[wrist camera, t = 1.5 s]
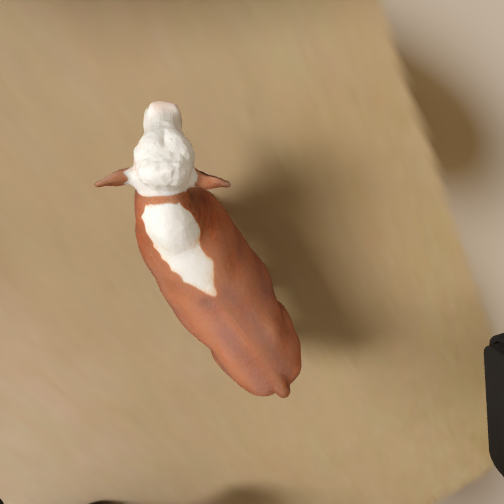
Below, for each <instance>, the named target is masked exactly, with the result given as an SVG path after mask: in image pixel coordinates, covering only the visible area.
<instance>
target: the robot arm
mask: <svg viewBox="0 0 504 504" xmlns="http://www.w3.org/2000/svg"><path fill="white" fill-rule="evenodd" d="M484 365H485V383H486V401H487V420H488V438H489V452H490V456H491V459H492V461H493V463H494V465H495V466H496V468H497V469H498V471H499V472H500V473H501V474H502V475H503V477H504V333H502V334H499V335H495V336H493V337H492V338H491V340H490V344H489V346H487V347H485V349H484ZM0 504H4V503H3V502H2V500H1V499H0Z"/></svg>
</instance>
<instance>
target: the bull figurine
mask: <svg viewBox="0 0 504 504" xmlns="http://www.w3.org/2000/svg"><path fill="white" fill-rule="evenodd" d="M143 126H144V135H143V136H142V138H141V139H140V141H139V143H138V145H137V146H136V147H135V149H134V164H133V166H132V167H130V168H126V169H120V170H118V171H115V172H113V173H112V174H110V175H109V176H107V177H105V178H104V179H102V180H100V181H98V182H96V183H95V184H94V185H95V186H96V187H102V186H121V185H125V184H128V185H132V186H133V187H134V188H135V189H136V191H135V216H136V227H135V232H136V237H137V242H138V246H139V249H140V252H141V255H142V257H143V259H144V261H145V263H146V265H147V266H148V268H149V270H150V271H151V273H152V274H153V276H154V277H155V279H156V281H157V283H158V286H159V288H160V290H161V293H162V294H163V296H164V298H165V299H166V301H167V302H168V304H169V305H170V307H171V308H172V309H173V311H174V313H175V315H176V316H177V318H178V319H179V321H180V322H181V323H182V324H183V326H184V327H185V328H186V329H187V330H188V331H189V332H190V333H191V334H193V335H194V336H195V337H196V338H197V339H198V340H199V341H201V342H202V343H203V344H205V345H206V346H207V347H208V348H209V349H211V353H212V356H213V358H214V360H215V361H216V362H217V364H218V365H219V366H220V368H221V369H222V370H223V371H224V372H225V373H226V374H227V375H229V376H230V377H231V378H232V379H233V380H234V381H235V382H236V383H237V384H238V385H240V386H241V387H242V388H243V389H245V390H246V391H248V392H250V393H251V394H253V395H256V396H270V395H272V394H274V393H276V394H277V395H278V396H280V397H281V398H286V397H288V395H289V394H290V384H291V383H292V382H293V381H294V380H295V379H296V378H297V376H298V375H299V373H300V371H301V349H300V341H299V338H298V336H297V334H296V332H295V330H294V327H293V324H292V321H291V318H290V316H289V313H288V312H287V310H286V309H285V307H284V306H283V305H282V304H281V303H280V302H279V301H277V299H276V296H275V294H274V290H273V286H272V281H271V278H270V275H269V273H268V270H267V268H266V267H265V265H264V263H263V262H262V261H261V259H260V258H259V257H258V256H257V254H256V253H255V252H254V251H253V250H252V249H251V248H250V246H249V245H248V243H247V242H246V240H245V239H244V237H243V235H242V234H241V232H240V231H239V230H238V229H237V227H236V226H235V225H234V223H233V221H232V220H231V218H230V216H229V214H228V213H227V211H226V210H225V209H224V207H223V206H222V205H221V203H220V202H219V201H218V200H217V198H216V197H215V196H214V195H213V194H211V193H210V192H208V191H207V190H205V189H213V188H218V187H230V185H231V184H230V182H228V181H226V180H223V179H221V178H218V177H215V176H211V175H208V174H205V173H204V172H201V171H199V170H197V169H196V168H195V167H194V165H193V164H194V159H195V153H194V150H193V148H192V145H191V143H190V141H189V140H188V139H187V138H186V137H185V136H184V134H183V132H182V118H181V113H180V110H179V108H178V106H177V105H176V104H174V103H170V102H163V101H156V102H152V103H151V104H150V105H149V107H148V108H147V109H146V111H145V114H144V123H143ZM192 186H194V187H192ZM190 187H191V188H190ZM197 187H199V188H197Z"/></svg>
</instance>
